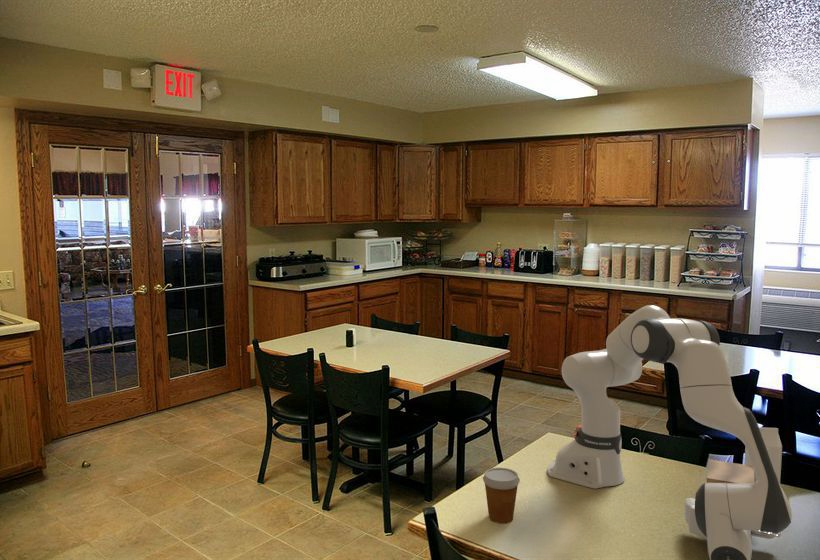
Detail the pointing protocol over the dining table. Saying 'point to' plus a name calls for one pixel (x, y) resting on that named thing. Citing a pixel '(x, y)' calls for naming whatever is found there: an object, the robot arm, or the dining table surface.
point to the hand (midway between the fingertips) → (729, 503)
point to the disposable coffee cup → (501, 493)
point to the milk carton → (770, 450)
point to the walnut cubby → (729, 472)
